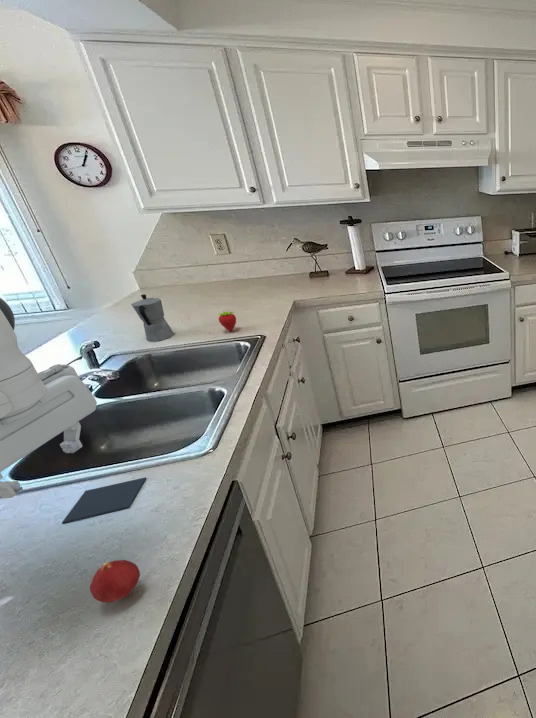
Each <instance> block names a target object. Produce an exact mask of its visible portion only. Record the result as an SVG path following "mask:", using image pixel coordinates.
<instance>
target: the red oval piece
mask: <svg viewBox="0 0 536 718" xmlns="http://www.w3.org/2000/svg"><path fill="white" fill-rule="evenodd" d="M140 577H141V572H140V569H139V567H138V565H137V564H136V563H134V562H132V561H129V560H127V559H118V560H112V561H106V562H104V563H102V565H101V567H99V568H98V569H97V570H96V571H95V573H94V575H93V577H92V580H91V582H90V585H89V592H90V594H91V597H92V598H93V599H95V600H96V601H97V602H100V603H105V604H107V603H114V602H117V601H120V600H123V599H125V598H127V597H128V596H129V595H130V594H131V593H132V591H133V590H134V589H135V588H136V586H137V585H138V583H139V580H140Z"/></svg>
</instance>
